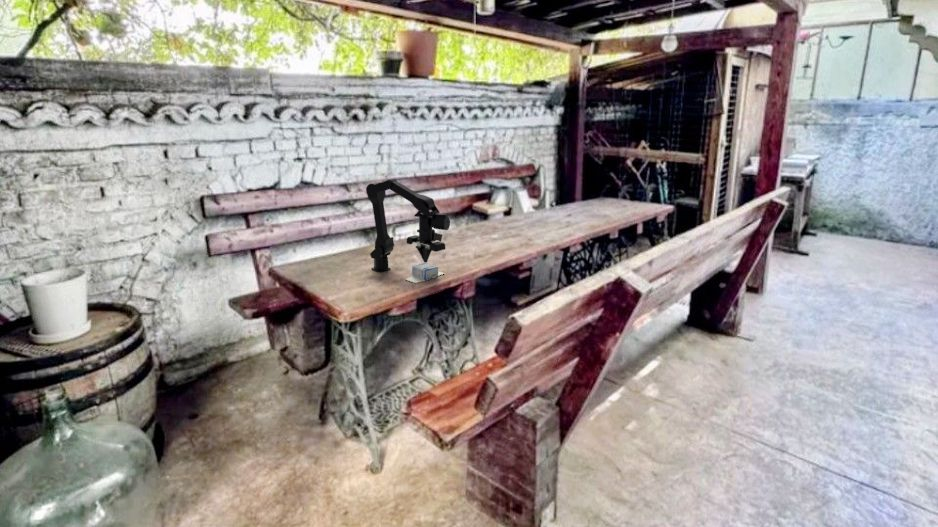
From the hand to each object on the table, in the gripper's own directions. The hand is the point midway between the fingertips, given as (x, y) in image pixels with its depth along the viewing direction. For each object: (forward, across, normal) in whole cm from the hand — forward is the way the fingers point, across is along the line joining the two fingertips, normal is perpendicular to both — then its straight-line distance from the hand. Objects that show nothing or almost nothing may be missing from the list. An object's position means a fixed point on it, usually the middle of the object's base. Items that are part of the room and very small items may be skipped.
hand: (425, 262), depth 223 cm
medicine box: (+4, +5, 0) cm, 7 cm away
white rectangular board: (+7, 0, 0) cm, 7 cm away
